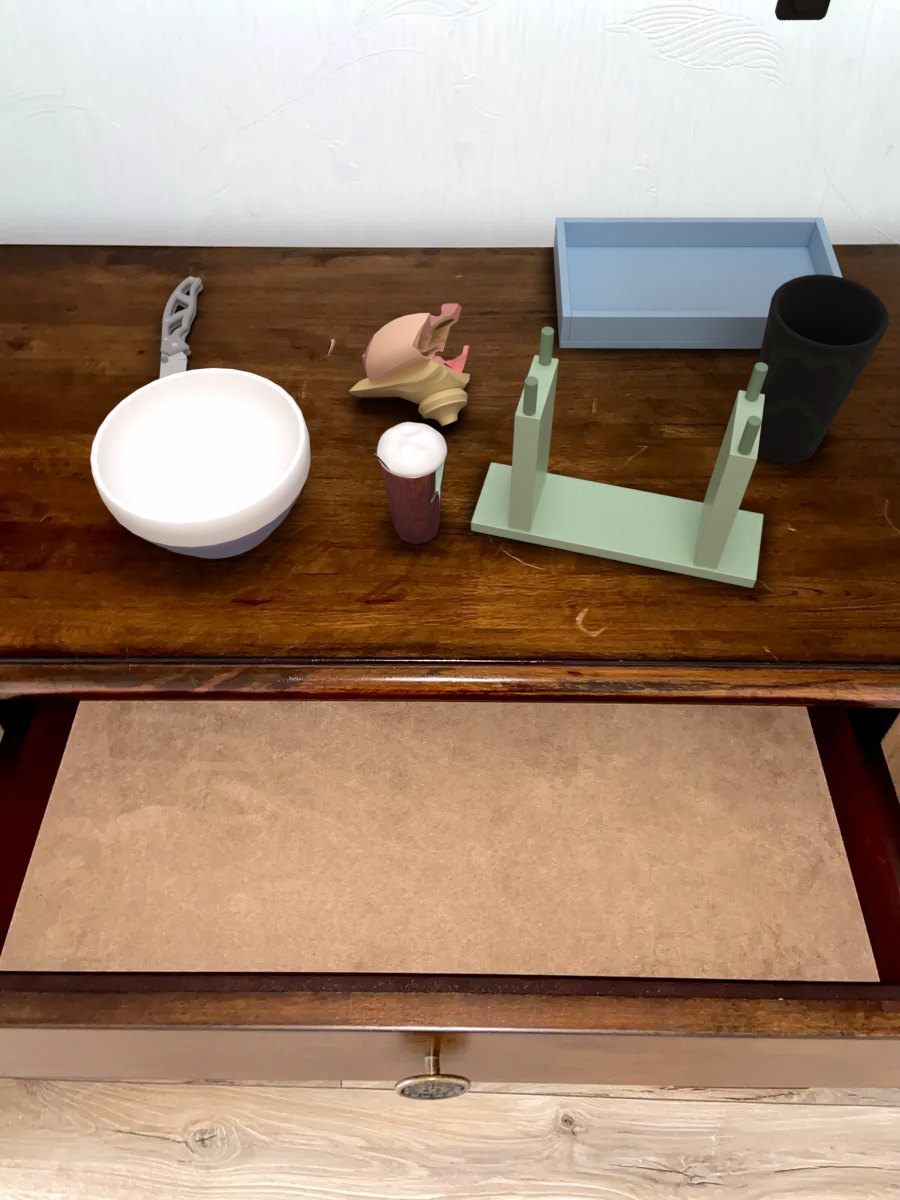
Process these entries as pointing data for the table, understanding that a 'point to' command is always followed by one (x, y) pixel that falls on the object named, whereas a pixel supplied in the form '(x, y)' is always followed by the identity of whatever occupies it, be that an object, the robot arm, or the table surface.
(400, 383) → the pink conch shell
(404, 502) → the milkshake
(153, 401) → the bowl
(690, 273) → the tray
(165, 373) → the knife
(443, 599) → the table surface
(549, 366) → the rack
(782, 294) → the cup
